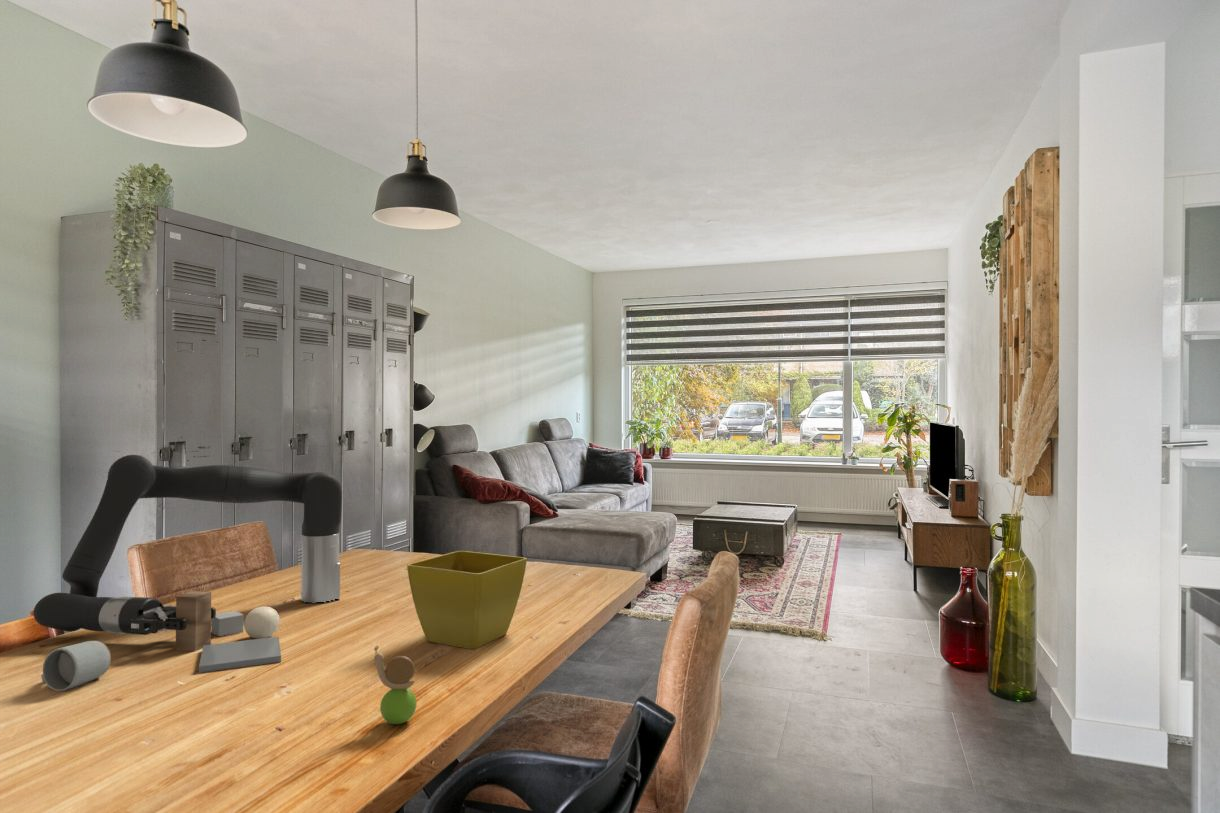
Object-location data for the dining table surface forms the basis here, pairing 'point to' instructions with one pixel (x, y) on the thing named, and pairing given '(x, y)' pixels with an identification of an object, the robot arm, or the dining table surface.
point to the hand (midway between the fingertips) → (200, 618)
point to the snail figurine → (396, 688)
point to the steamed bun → (261, 622)
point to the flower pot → (466, 596)
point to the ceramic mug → (75, 665)
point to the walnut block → (194, 620)
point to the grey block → (227, 623)
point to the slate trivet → (240, 654)
